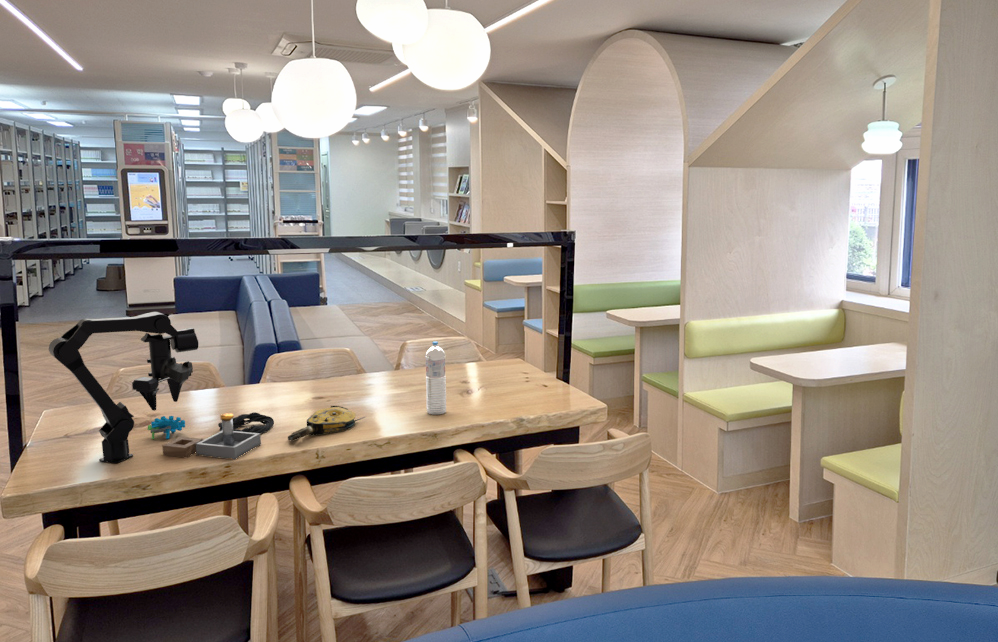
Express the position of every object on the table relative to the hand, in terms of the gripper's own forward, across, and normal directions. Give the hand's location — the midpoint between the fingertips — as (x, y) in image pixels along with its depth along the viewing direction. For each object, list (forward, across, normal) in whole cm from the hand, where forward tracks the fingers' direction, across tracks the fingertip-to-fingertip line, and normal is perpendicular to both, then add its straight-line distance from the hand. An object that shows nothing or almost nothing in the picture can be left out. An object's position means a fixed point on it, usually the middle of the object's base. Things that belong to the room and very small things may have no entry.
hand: (165, 405), depth 220 cm
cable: (+14, +20, -14) cm, 28 cm away
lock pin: (+12, +3, -19) cm, 23 cm away
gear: (+13, +9, +8) cm, 18 cm away
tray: (+13, +3, -19) cm, 23 cm away
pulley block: (+14, +26, -37) cm, 47 cm away
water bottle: (+13, +54, -66) cm, 86 cm away
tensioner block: (+13, -2, -7) cm, 15 cm away
